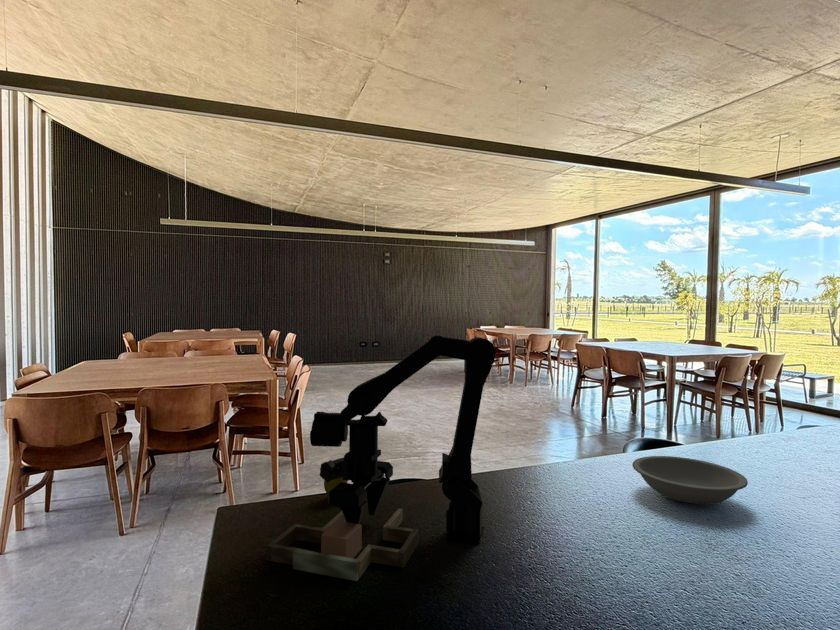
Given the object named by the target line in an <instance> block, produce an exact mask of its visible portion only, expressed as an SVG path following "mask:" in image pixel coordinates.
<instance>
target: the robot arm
mask: <svg viewBox="0 0 840 630" xmlns="http://www.w3.org/2000/svg"><path fill="white" fill-rule="evenodd" d="M496 355H497V349H496V347H495V345H494V344H493V343H492V341H490V340H489V339H486V338H483V337H481V336H480V337H478V336H477V337H474V338H473V337H472V338H471V339H470V340H465V339H460V338H452V337H446V336H443V335H439V334H436V335H433V336H431V337H430V339H428V341H426V342H425V343H423V344H422V345H421V346H420V347H418V348H417V349H416V350H414V351H413V352H412V353H410V354H409V355H407V356H406V357H405V358H403V359H402V360H400V361H399V362H398V363H396V364H395V365H393V366H391V368H389V369H388V370H386V371H385V372H383V373H381V374H378V375H376V376H375V377H372V378H370V379H369V380H366V381H364V382H362V383H360V384H359V385H357V386H356V387H354V388H353V389H352V390H351V391H350V392H349V394H348V395H347V401H346V402H347V405H346V406H345V407H344V408H343V409H342V410H341V411H340V412H325V411H316V412H315V413H314V414H313V420H312V423H311V424H312V425H311V430H310V432H309V441H310V445H311V446H312V447H327V448H328V447H331V448H333V447H335V448H337V447H338V448H340V447H342V444H343V443H344V442H347V441H348V439H349V442H348V444H349V445H348V446H349V447H348V448H349V449H348V450H349V451H348V452H346V453H345V454H344V455H343V457H340V458H337V459H333V460H331V459H329V460H328V461H324V462H322V463H321V464H320V467H319V470H320V471H319V476H320V478H321V479H323V481H324V480H326V482H330V481H331V480H333V479H337V478H340V477H343V480H345V481H351V483H349V482H348V483H342V482H341V483H340V484H338V485H337V486H336V487H334V488H333V489H332V490H331V491H330V492H329V493H328V494H327V496H328V497H327V503H328V505H330V506H331V505H332V506H333V507H337V508H339V509H340V510H341V511H342V512H343V514H344V516H345V519H346V522H348V523H354V524H360V523H361V521H362V518H363V514H364V511H365V508H366V506H367V509H368V515H369V516H375V514H376V512H377V509H378V508H379V505H380V503H381V500H382V498H383V496H384V493H385V491H386V489H387V487H388V485H389V483H390V481H391V477H393V476H394V466H393V465H392V464H391V463H390V462H389V461H385V460H384V461H382V460H381V461H380V460H379V459H378V458H379V457H380V456H381V455H382V449H379V448H378V445H379V444H378V441H379V439H378V438H379V427H386V426H387V423H388V418H386V417H385V416H384V415H383V414H382V413H381V411H379V412H377V414H376V415H370V414H371V413H373V411H374V410H375V409H376V408H377V407H378V406H379V405H380V404H381V403H382V402H383V401H384V400H385V399H386V398H387V396H388V395H389V394H390V393H392V391H394V389H396V387H398V386H399V385H401V384H403V383H404V382H405V381H406V380H408V379H409V378H411V377H412V376H413V375H415V374H417V372H419V371H420V370H421V369H423V368H424V367H426V366H427V365H429V364H430V363H431V362H432V361H434V360H435V359H437V358H438V357H440V356H442V357H447V358H453V359H457V360H463V366H464V367H463V368H464V369H463V370H464V372H463V373H464V382H463V388H462V392H461V399H460V403H459V409H458V415H457V421H456V427H455V431H454V436H453V437H454V438H453V443H452V447H451V449H450V451H449V453H448V454H447V453H445V452H442V454H441V455H442V456H441V459H442V460H441V466H440V468H439V469H438V483H441V491H442V494H443V495H444V497H445V498H447V499H448V500H449V501H450V502H449V504H448V508H447V509H446V512H445V522H446V523H445V530H446V532H447V534H446V539H447V540H451V541H456V542H457V541H458V542H465V543H471V544H480V543H481V540H482V537H483V534H484V531H485V528H484V526H483V500H482V496H481V492H480V486H479V485H478V484H477V483H476V482H475V481H474V480H473V478H472V477H473V476H472V474H473V473H472V450H473V446H474V439H475V434H476V429H477V423H478V417H479V413H480V407H481V400H482V396H483V391H484V385H485V383H486V381H487V379H488V377H489V375H490V373H491V370H492V367H493V365H494V362H495V359H496ZM357 416H360V418H359V419H354V418H356V417H357ZM348 434H349V435H348ZM348 436H349V437H348ZM366 499H367V500H366ZM360 525H361V524H360Z"/></svg>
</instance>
